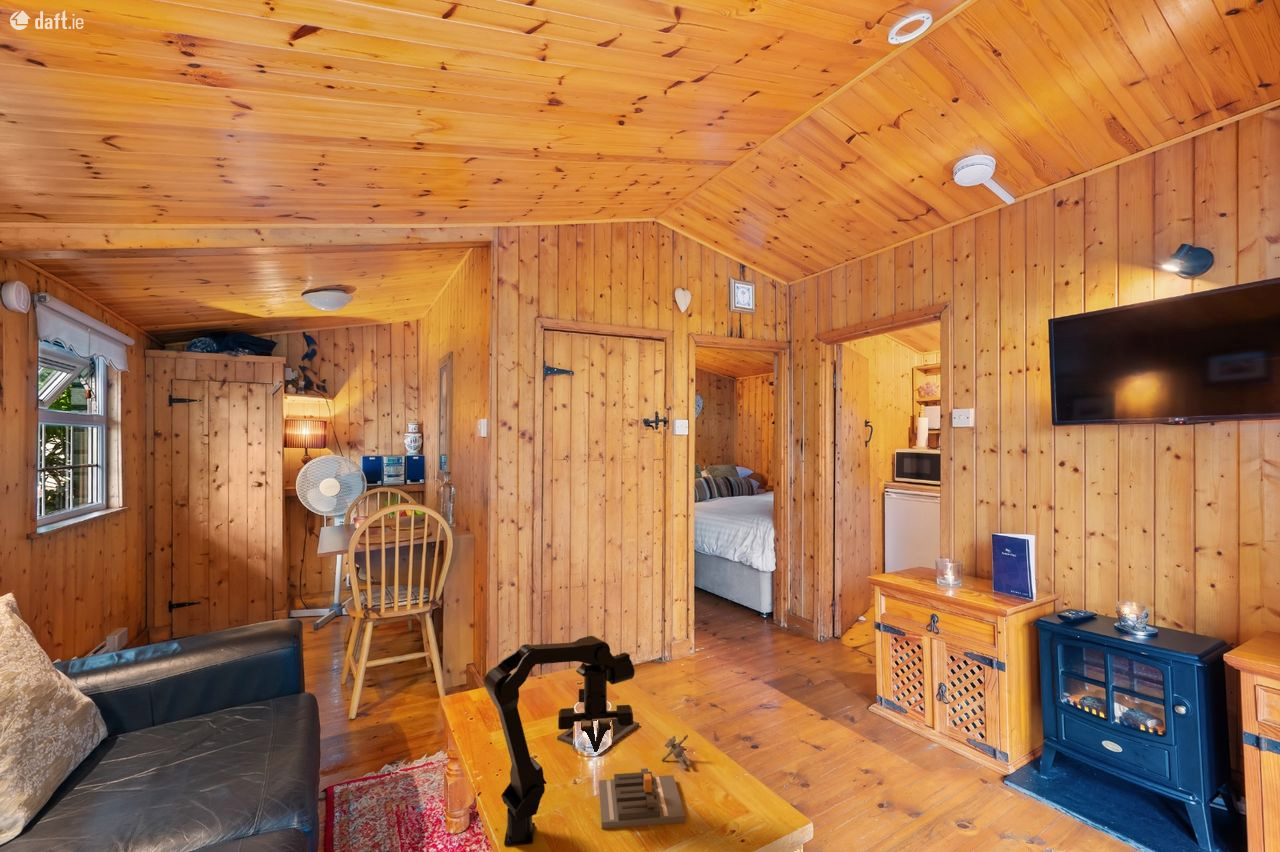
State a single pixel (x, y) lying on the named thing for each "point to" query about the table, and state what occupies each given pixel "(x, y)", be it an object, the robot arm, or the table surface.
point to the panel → (642, 822)
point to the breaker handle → (647, 783)
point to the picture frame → (617, 732)
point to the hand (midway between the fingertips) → (595, 750)
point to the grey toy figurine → (677, 751)
